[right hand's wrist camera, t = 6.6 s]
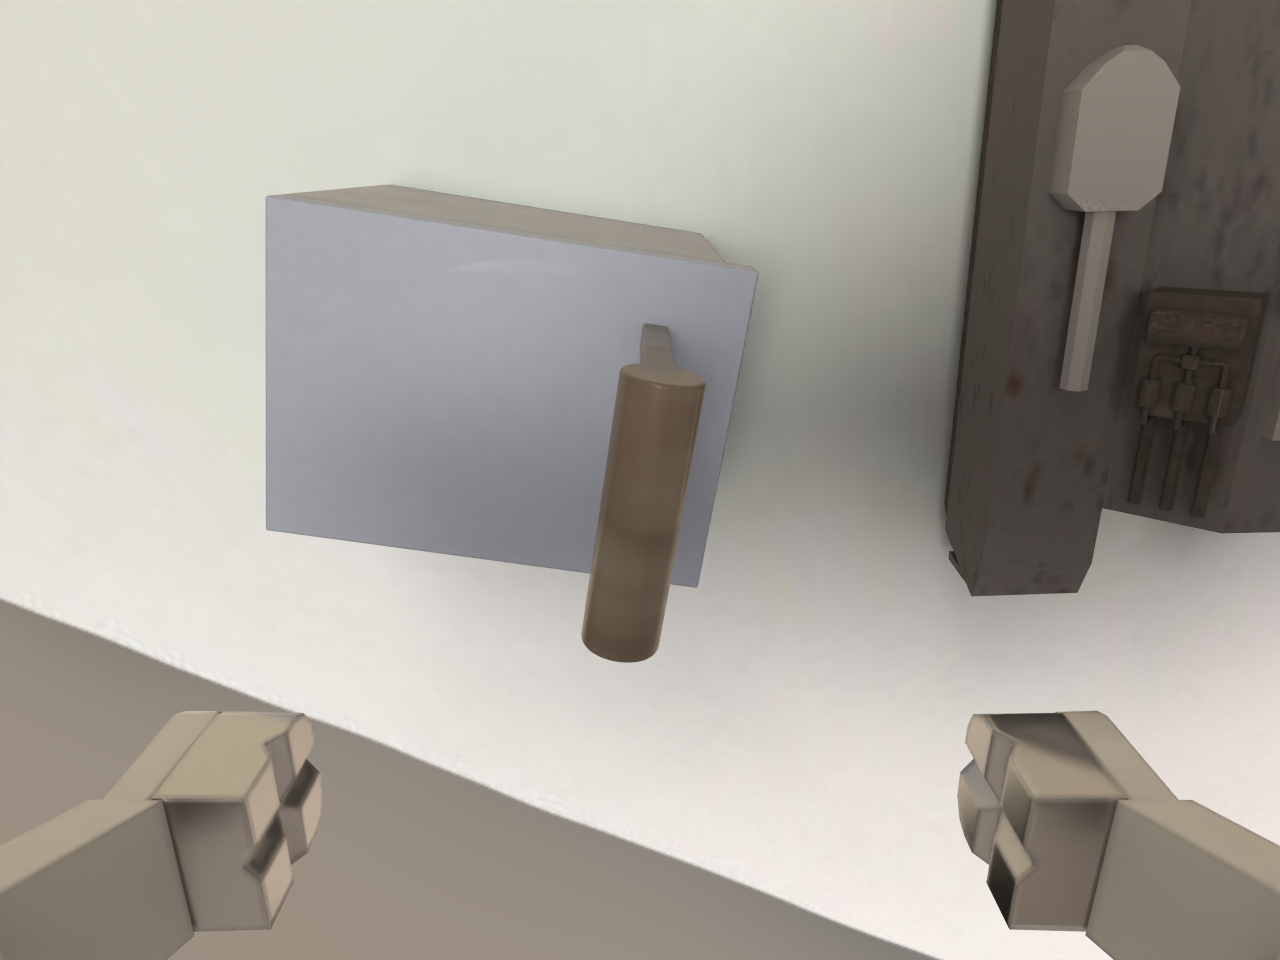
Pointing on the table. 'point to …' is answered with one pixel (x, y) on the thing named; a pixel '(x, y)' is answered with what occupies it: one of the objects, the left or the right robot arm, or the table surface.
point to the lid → (501, 399)
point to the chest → (522, 219)
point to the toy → (1119, 285)
